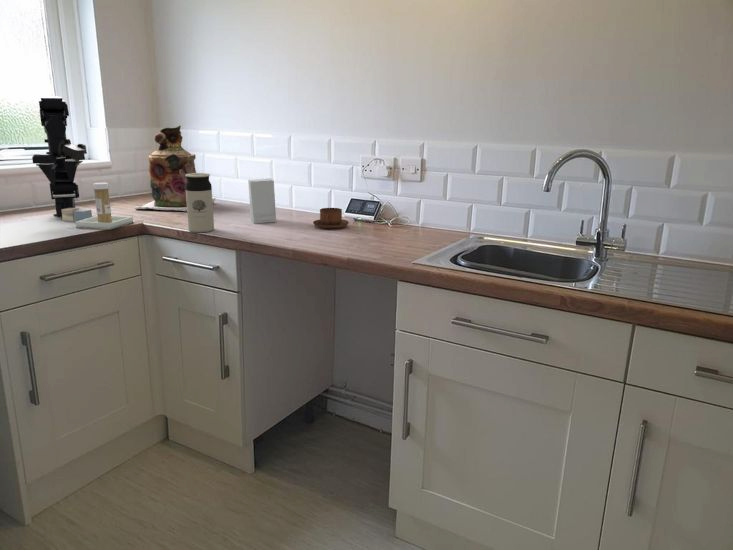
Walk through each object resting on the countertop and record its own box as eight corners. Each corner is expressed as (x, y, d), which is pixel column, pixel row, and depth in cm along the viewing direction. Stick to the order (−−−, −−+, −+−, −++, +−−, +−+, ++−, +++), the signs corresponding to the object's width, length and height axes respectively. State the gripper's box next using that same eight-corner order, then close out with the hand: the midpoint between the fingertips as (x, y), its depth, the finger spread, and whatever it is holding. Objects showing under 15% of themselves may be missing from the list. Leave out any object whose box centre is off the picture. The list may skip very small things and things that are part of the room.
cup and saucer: (351, 230, 187) (351, 212, 185) (314, 231, 185) (314, 212, 183) (346, 223, 198) (346, 206, 196) (311, 224, 196) (311, 207, 194)
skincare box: (273, 219, 203) (271, 178, 199) (276, 222, 198) (275, 179, 193) (249, 221, 200) (247, 178, 196) (252, 224, 195) (250, 180, 191)
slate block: (82, 220, 198) (80, 209, 197) (92, 221, 197) (91, 209, 196) (74, 222, 194) (73, 211, 193) (85, 223, 193) (83, 211, 192)
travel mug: (193, 227, 187) (189, 172, 182) (217, 228, 187) (213, 173, 182) (185, 232, 179) (180, 175, 174) (210, 233, 179) (206, 175, 174)
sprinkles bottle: (113, 223, 189) (109, 183, 186) (99, 224, 187) (94, 184, 183) (110, 221, 193) (106, 181, 189) (96, 222, 190) (91, 182, 187)
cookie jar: (162, 201, 242) (156, 124, 233) (217, 203, 239) (212, 125, 230) (132, 210, 219) (123, 125, 210) (192, 212, 216) (186, 126, 207)
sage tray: (100, 220, 197) (99, 215, 196) (133, 222, 195) (132, 216, 194) (76, 227, 185) (75, 221, 184) (111, 229, 183) (110, 223, 182)
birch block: (70, 218, 201) (68, 207, 199) (80, 219, 200) (79, 208, 199) (62, 220, 197) (61, 209, 196) (73, 221, 196) (71, 209, 195)
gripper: (58, 137, 178) (65, 187, 183) (96, 135, 196) (101, 180, 200) (27, 137, 180) (35, 186, 184) (67, 135, 198) (73, 180, 202)
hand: (63, 183), depth 193 cm, fingers open, 9 cm apart
